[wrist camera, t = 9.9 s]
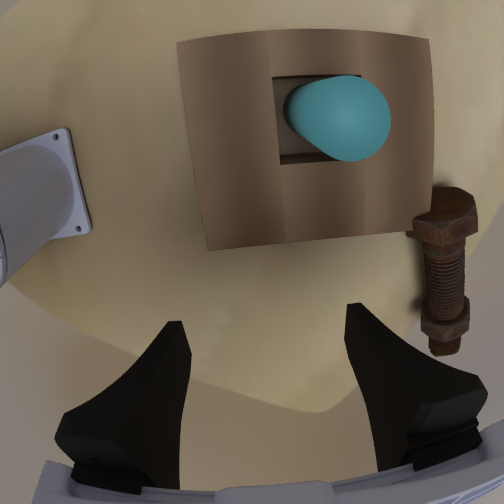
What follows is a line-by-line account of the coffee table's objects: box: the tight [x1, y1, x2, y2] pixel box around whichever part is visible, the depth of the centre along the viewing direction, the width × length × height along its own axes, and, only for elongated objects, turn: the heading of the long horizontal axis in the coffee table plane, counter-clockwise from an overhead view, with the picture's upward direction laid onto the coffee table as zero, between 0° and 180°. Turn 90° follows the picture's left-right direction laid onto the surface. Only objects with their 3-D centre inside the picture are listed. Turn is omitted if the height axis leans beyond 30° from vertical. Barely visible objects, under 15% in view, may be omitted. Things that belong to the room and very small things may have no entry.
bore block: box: [177, 29, 434, 251], centre depth 18 cm, size 14×12×4 cm
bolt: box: [406, 187, 478, 357], centre depth 22 cm, size 6×5×15 cm
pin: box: [283, 75, 391, 162], centre depth 15 cm, size 3×3×8 cm
